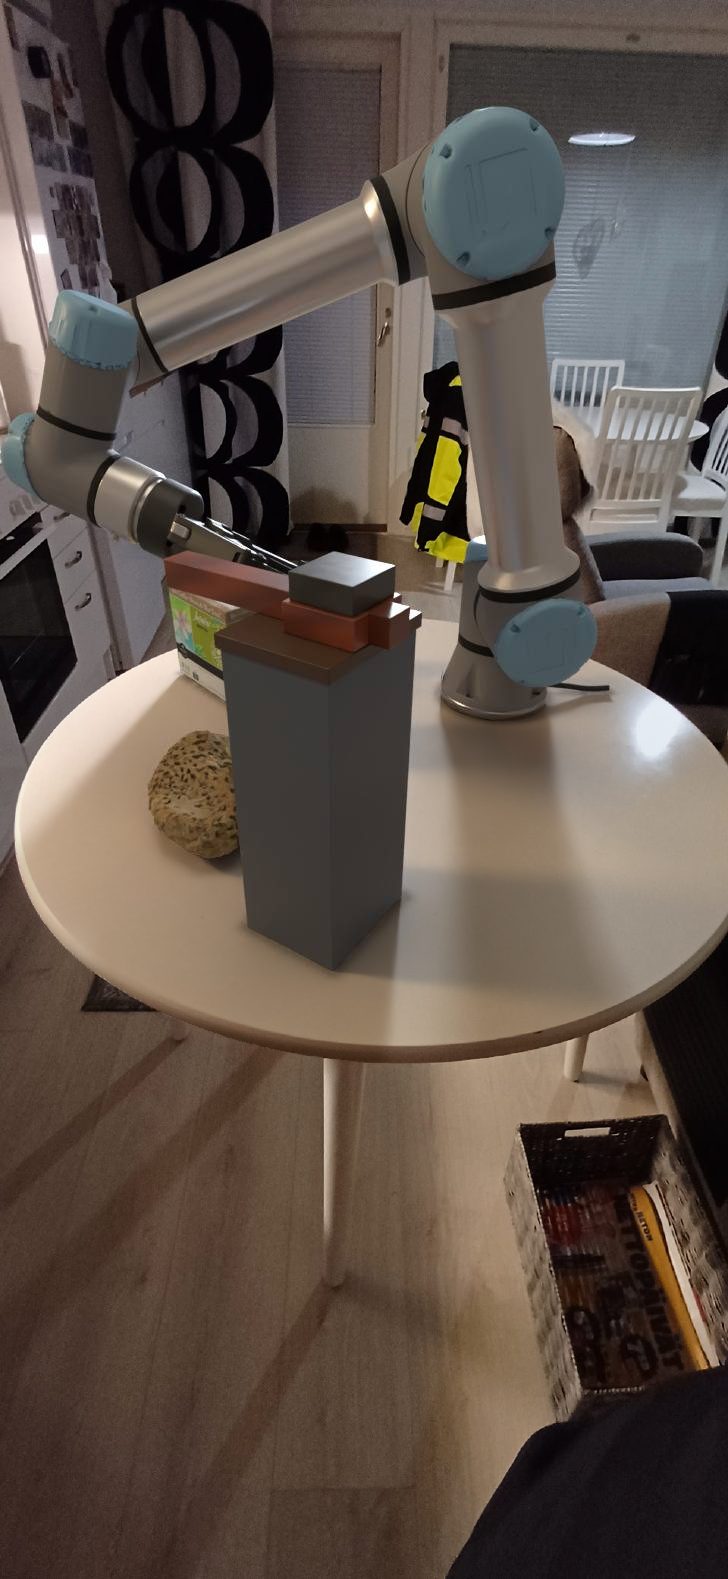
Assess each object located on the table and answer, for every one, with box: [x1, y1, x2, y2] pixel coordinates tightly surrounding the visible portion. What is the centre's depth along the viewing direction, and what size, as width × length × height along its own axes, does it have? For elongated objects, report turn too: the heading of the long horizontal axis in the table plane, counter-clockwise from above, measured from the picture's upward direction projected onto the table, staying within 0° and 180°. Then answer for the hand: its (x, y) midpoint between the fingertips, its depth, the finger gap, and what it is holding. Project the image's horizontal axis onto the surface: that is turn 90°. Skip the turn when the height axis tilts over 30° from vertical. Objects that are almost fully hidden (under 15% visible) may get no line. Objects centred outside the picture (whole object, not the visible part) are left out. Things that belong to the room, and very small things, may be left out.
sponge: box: [147, 729, 240, 859], centre depth 87 cm, size 13×8×20 cm
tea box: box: [168, 587, 257, 703], centre depth 113 cm, size 15×10×15 cm
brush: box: [163, 550, 411, 652], centre depth 60 cm, size 22×6×5 cm, turn 56°
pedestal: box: [214, 609, 423, 972], centre depth 68 cm, size 11×13×30 cm
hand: (341, 604), depth 78 cm, fingers open, 13 cm apart
